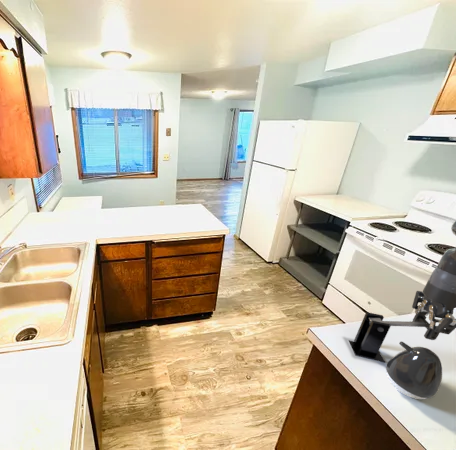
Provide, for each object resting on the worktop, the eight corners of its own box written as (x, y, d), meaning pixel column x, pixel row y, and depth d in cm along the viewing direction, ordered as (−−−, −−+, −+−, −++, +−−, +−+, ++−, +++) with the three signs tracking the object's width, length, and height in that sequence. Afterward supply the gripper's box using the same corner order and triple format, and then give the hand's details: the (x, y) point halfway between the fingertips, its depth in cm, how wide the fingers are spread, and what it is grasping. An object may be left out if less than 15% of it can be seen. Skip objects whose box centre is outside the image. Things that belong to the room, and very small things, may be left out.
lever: (423, 322, 74) (424, 315, 73) (435, 333, 70) (435, 327, 69) (367, 320, 79) (367, 314, 79) (374, 331, 75) (374, 325, 74)
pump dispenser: (381, 362, 76) (402, 328, 69) (428, 386, 69) (457, 351, 63) (377, 385, 69) (400, 351, 63) (429, 414, 63) (460, 379, 56)
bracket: (372, 344, 83) (386, 313, 78) (384, 364, 76) (401, 331, 71) (345, 338, 85) (357, 307, 80) (354, 357, 78) (368, 324, 73)
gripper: (490, 304, 59) (457, 354, 65) (446, 274, 72) (422, 318, 78) (450, 297, 61) (422, 346, 68) (415, 269, 74) (393, 312, 80)
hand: (422, 331), depth 73 cm, fingers closed on lever, 5 cm apart
